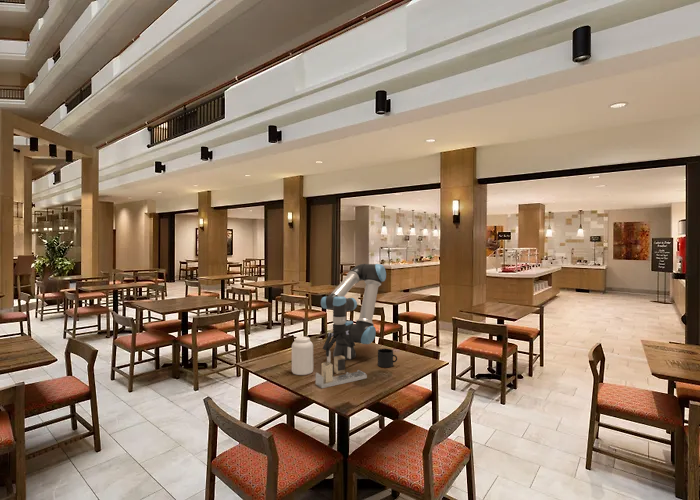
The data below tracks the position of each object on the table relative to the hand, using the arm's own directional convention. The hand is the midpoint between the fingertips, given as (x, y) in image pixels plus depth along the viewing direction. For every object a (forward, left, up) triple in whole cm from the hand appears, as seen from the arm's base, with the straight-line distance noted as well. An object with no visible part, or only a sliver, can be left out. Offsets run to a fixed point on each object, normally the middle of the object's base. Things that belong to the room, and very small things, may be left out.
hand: (339, 360), depth 216 cm
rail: (+13, -6, -7) cm, 16 cm away
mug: (+5, +31, -7) cm, 33 cm away
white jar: (-12, -18, -7) cm, 23 cm away
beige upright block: (0, 0, -7) cm, 7 cm away
